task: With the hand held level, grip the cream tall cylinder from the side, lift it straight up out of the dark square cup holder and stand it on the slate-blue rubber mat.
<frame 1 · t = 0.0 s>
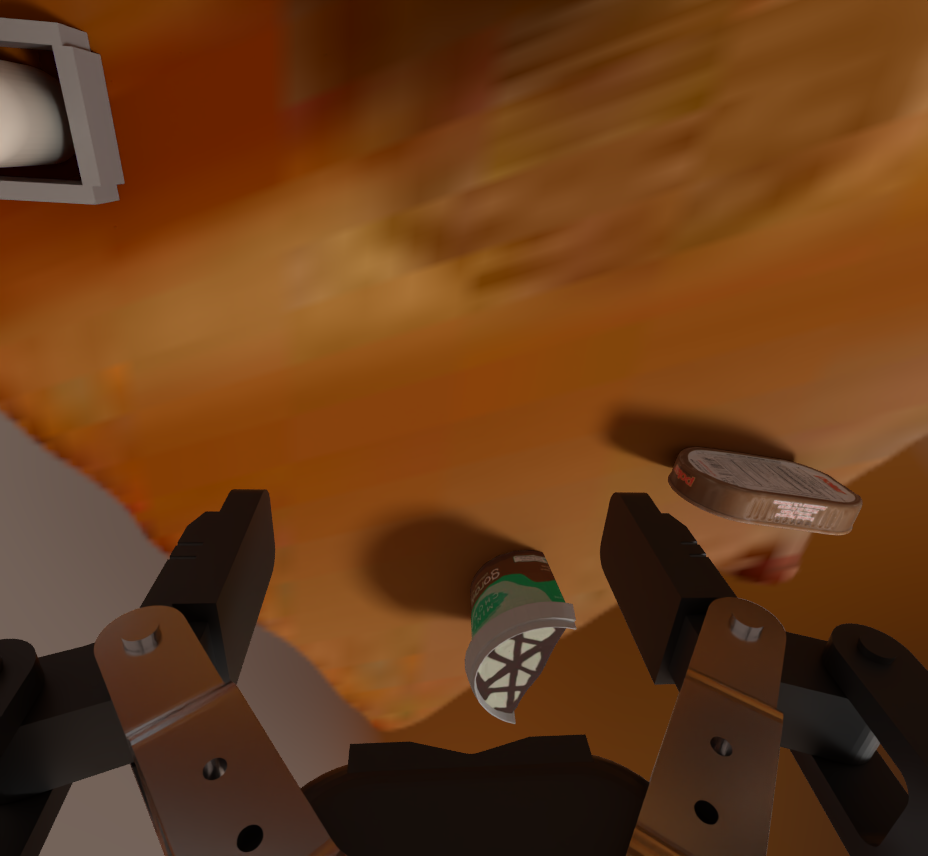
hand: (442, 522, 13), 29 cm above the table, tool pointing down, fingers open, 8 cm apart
cup holder: (34, 116, 33), on the table
tin: (735, 460, 49), on the table
food container: (492, 580, 53), on the table
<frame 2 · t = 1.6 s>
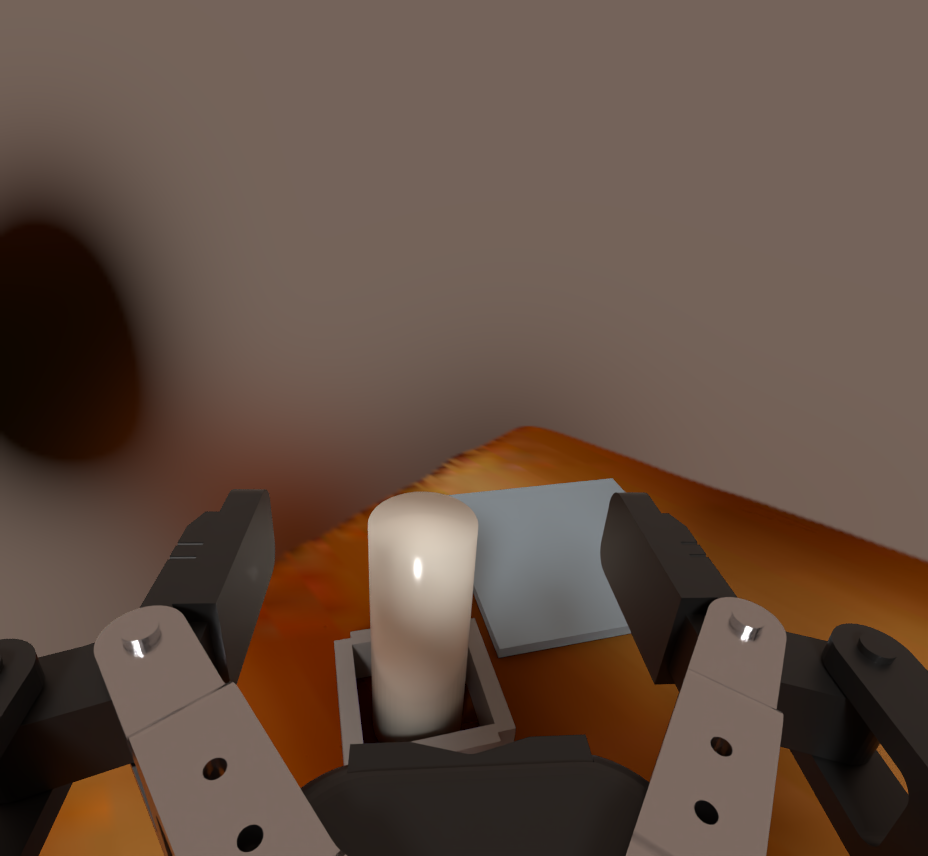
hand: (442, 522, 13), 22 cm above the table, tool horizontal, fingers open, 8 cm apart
cup holder: (417, 716, 33), on the table
cream tall cylinder: (420, 629, 30), in the cup holder
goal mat: (566, 553, 47), on the table
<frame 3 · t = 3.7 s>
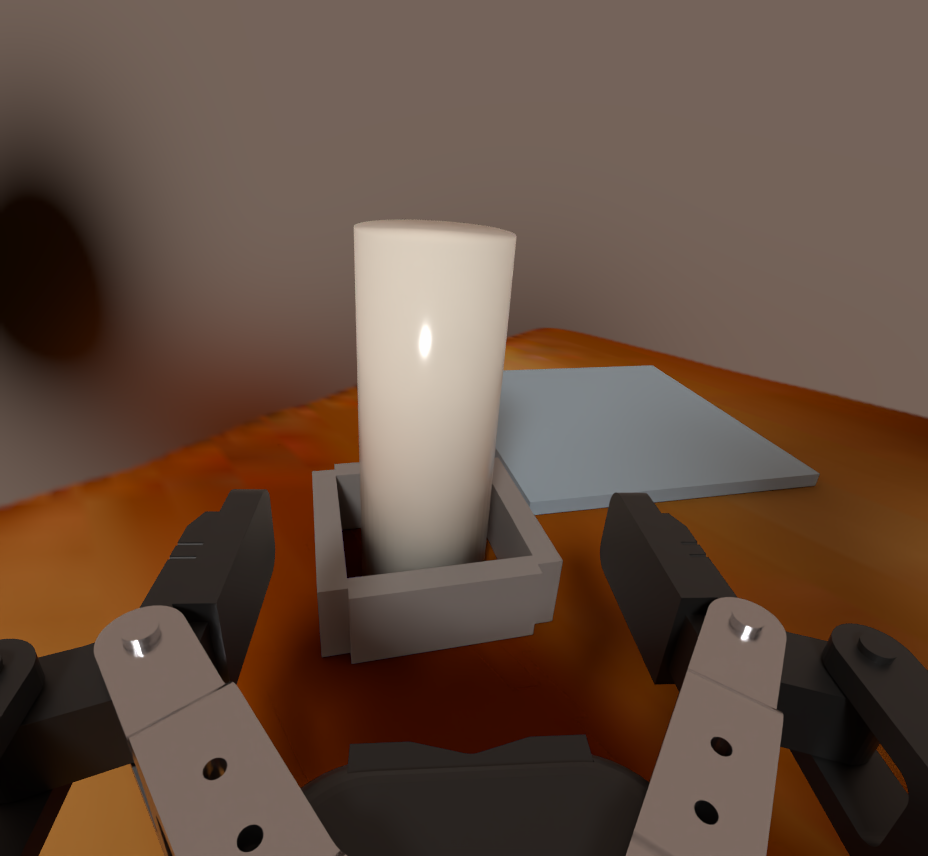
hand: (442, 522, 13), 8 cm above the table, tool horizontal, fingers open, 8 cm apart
cup holder: (423, 569, 24), on the table
cream tall cylinder: (428, 424, 21), in the cup holder
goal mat: (605, 426, 38), on the table
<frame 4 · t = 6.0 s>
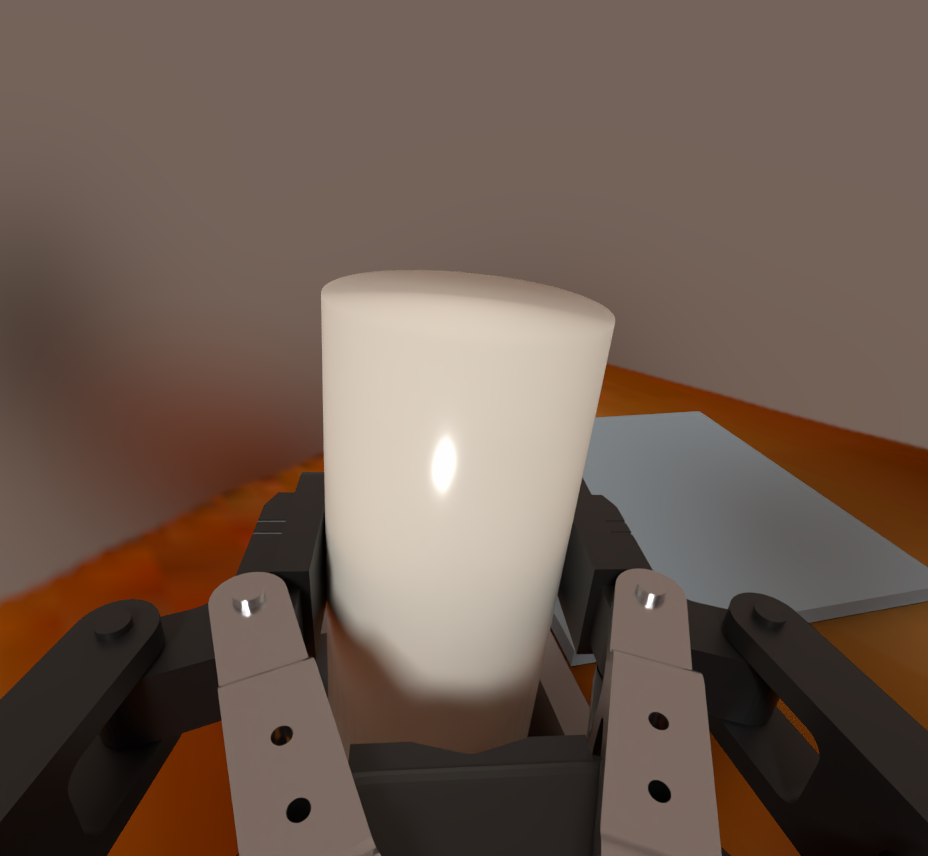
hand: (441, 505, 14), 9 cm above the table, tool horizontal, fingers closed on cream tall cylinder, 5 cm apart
cup holder: (423, 785, 16), on the table
cream tall cylinder: (440, 596, 13), in the cup holder, touching gripper
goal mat: (654, 503, 30), on the table
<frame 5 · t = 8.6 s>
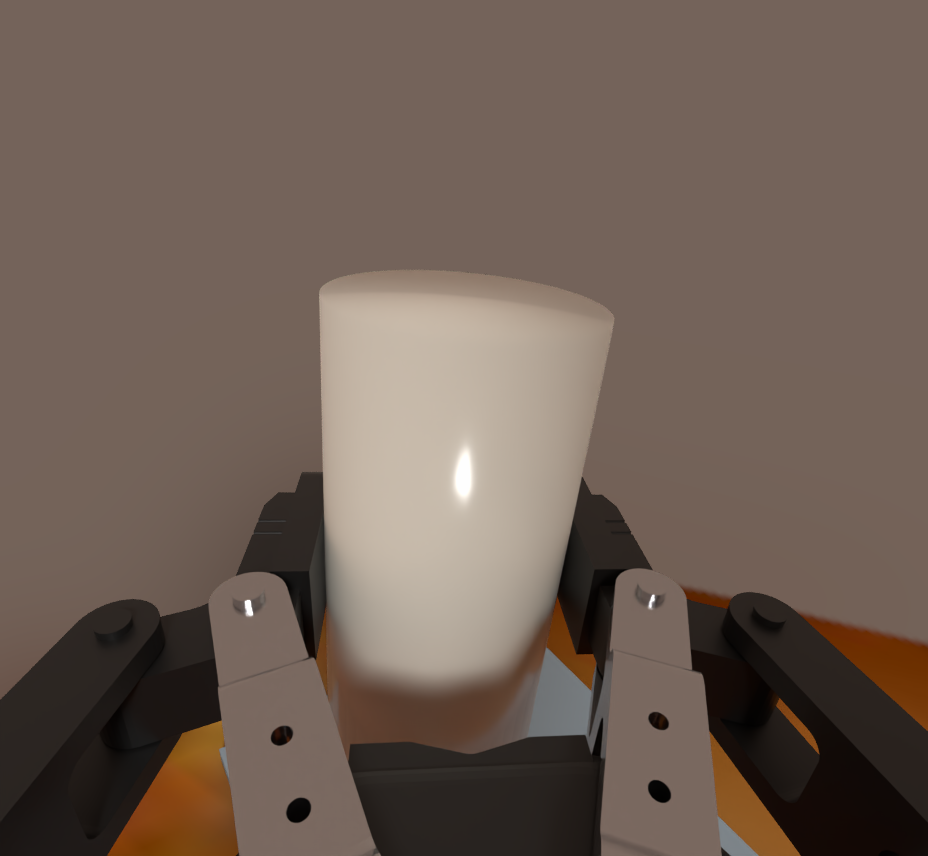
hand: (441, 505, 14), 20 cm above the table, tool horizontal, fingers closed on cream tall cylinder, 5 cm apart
cream tall cylinder: (440, 597, 13), point 18 cm above the table, touching gripper
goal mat: (476, 813, 26), on the table
when the fingers open (11 cm above the table, at t = 11.2 s): cream tall cylinder drops 1 cm, resting on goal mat.
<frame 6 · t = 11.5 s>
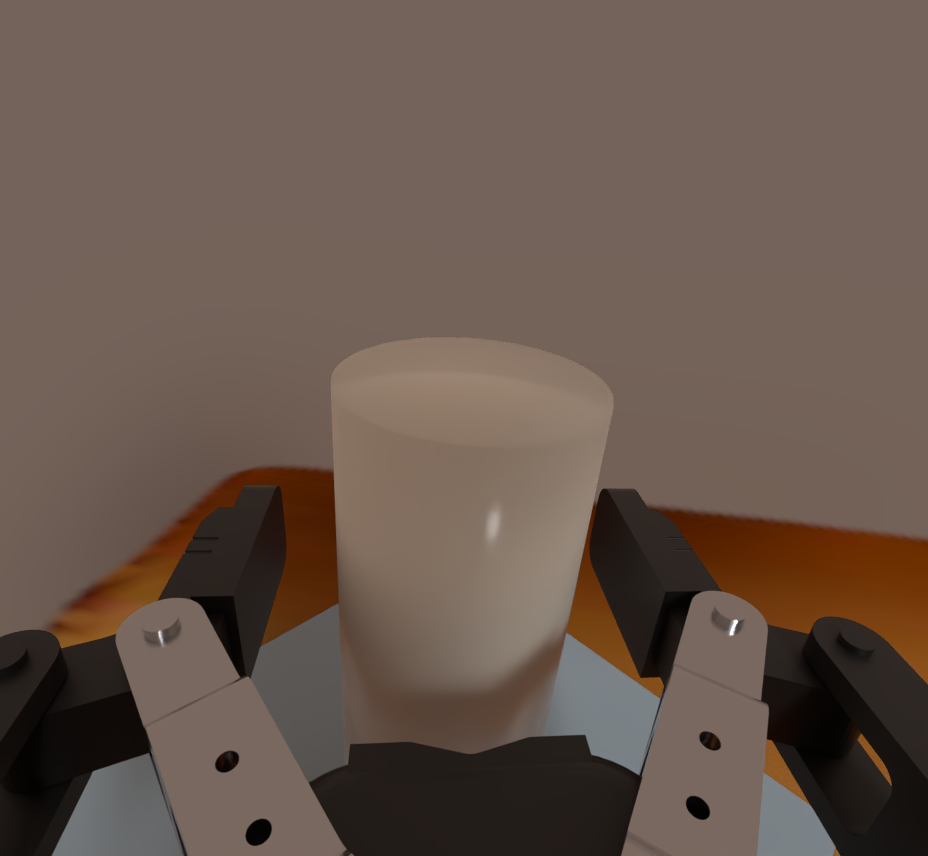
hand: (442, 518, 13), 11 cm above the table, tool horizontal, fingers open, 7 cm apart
cream tall cylinder: (450, 648, 14), on the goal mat, point 8 cm above the table
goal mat: (426, 827, 17), on the table
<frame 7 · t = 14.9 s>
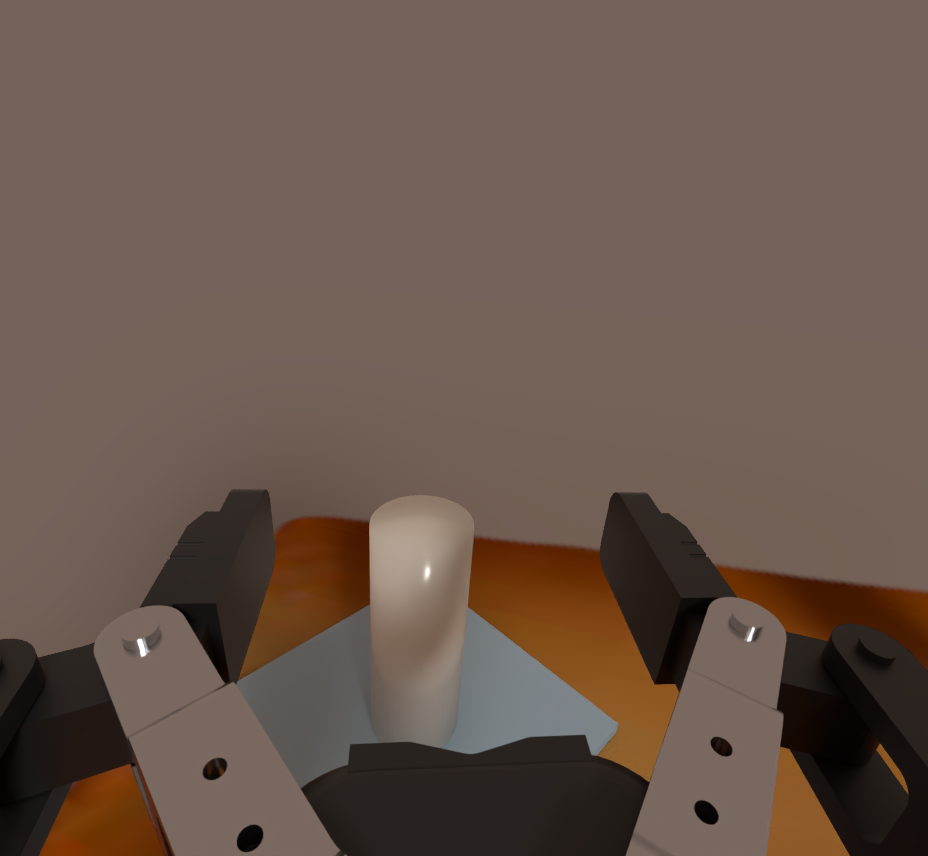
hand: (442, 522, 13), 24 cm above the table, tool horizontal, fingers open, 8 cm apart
cream tall cylinder: (418, 628, 31), on the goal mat, point 8 cm above the table
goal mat: (410, 722, 34), on the table
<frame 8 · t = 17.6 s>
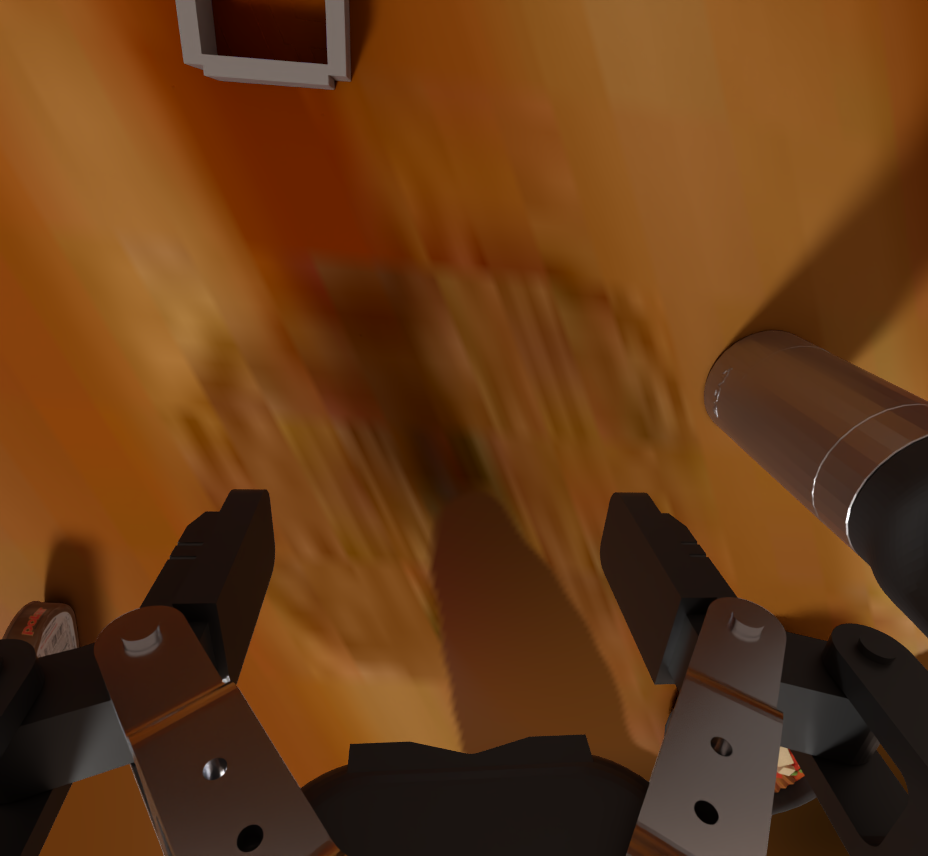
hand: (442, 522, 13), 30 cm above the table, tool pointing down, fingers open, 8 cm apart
tin: (69, 641, 53), on the table
casserole: (735, 702, 66), on the table
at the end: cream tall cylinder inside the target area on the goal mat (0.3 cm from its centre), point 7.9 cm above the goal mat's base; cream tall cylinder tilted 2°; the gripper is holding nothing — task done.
